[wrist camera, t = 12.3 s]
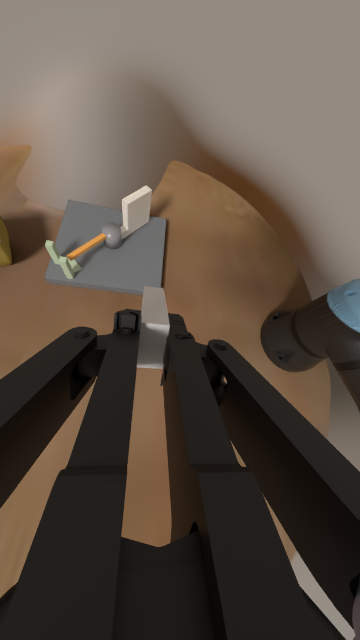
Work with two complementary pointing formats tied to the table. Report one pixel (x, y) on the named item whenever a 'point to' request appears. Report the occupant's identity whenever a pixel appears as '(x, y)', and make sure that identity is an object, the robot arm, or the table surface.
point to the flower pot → (4, 246)
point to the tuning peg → (133, 219)
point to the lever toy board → (106, 252)
